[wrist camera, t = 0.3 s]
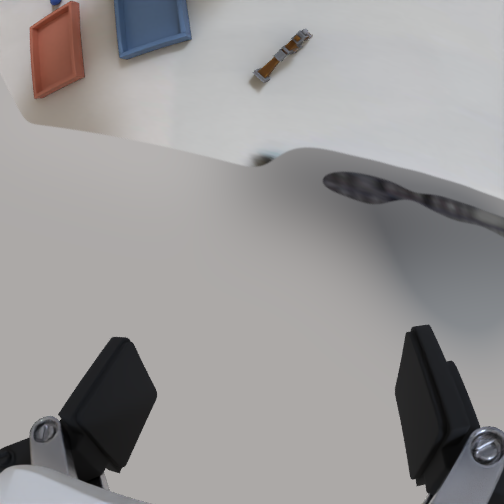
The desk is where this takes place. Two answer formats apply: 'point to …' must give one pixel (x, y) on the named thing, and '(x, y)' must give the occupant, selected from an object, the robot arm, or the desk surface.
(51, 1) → the blue spoon
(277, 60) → the wooden post with brackets
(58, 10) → the terracotta tray
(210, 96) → the desk surface
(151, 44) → the blue-grey tray
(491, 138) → the desk surface
